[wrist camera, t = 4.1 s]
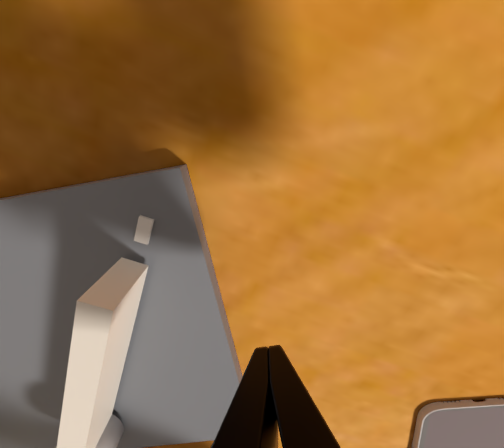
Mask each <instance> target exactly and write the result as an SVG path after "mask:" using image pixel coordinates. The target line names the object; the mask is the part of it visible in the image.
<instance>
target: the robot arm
mask: <svg viewBox="0 0 504 448" xmlns="http://www.w3.org/2000/svg"><path fill="white" fill-rule="evenodd" d="M278 427H279V432H280V437H281V442H282V447H283V448H340V446H339V444H338V442H337V441H336V439H335V437H334V435H333V434H332V432H331V430H330V429H329V427H328V425H327V424H326V422H325V420H324V418H323V417H322V415H321V413H320V412H319V410H318V408H317V406H316V405H315V403H314V401H313V400H312V398H311V396H310V395H309V393H308V391H307V389H306V388H305V386H304V384H303V383H302V381H301V379H300V377H299V376H298V374H297V372H296V371H295V369H294V367H293V366H292V364H291V362H290V360H289V359H288V357H287V355H286V354H285V352H284V350H283V348H282V347H281V346H280V345H274V346H269V348H268V347H259V348H256V349H255V350H254V352H253V355H252V357H251V359H250V361H249V364H248V366H247V368H246V370H245V373H244V375H243V377H242V379H241V381H240V384H239V386H238V388H237V390H236V393H235V395H234V397H233V399H232V402H231V404H230V406H229V408H228V411H227V413H226V415H225V417H224V420H223V422H222V424H221V426H220V428H219V431H218V433H217V435H216V437H215V440H214V442H213V444H212V446H211V448H278Z"/></svg>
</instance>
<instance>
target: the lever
mask: <svg viewBox="0 0 504 448" xmlns="http://www.w3.org/2000/svg"><path fill="white" fill-rule="evenodd" d="M148 266H149V265H145V264H142V263H139V262H136V261H132V260H129V259H126V258H123V257H122V258H121V259H119V260H118V261H117V262H116V263H115V264H114V265H113V266H112V267H111V268H110V269H109V270H108V271H107V272H106V273H105V274H104V275H103V276H102V277H101V278H100V279H99V280H98V281H97V282H96V283H95V284H94V285H93V286H91V287H90V288H89V289H88V290H87V291H86V292H85V293H84V294H83V295H82V296H81V297H80V298H79V299H78V300H77V303H76V310H75V317H74V325H73V332H72V339H71V347H70V354H69V361H68V368H67V376H66V383H65V390H64V398H63V405H62V412H61V419H60V427H59V434H58V441H57V446H56V447H55V448H116V447H117V445H118V443H119V441H120V438H121V436H122V434H123V431H124V427H123V424H122V422H121V421H120V419H119V418H117V417H116V416H115V415H113V414H112V412H113V408H114V404H115V400H116V396H117V392H118V388H119V384H120V380H121V376H122V372H123V368H124V363H125V359H126V355H127V351H128V347H129V343H130V339H131V335H132V331H133V327H134V323H135V319H136V315H137V311H138V306H139V302H140V298H141V294H142V290H143V286H144V282H145V278H146V274H147V270H148Z"/></svg>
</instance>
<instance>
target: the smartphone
mask: <svg viewBox="0 0 504 448" xmlns="http://www.w3.org/2000/svg"><path fill="white" fill-rule="evenodd" d="M412 448H504V398H500V399H498V398H488V399H484V401H483V402H474V401H473V400H459V401H458V400H457V401H455V402H454V401H451V402H450V401H447V402H446V401H443V403H442V402H434V403H430V404H428V405H426V406H424V407H423V408H421V410H420V411H419V413H418V416H417V421H416V426H415V432H414V437H413V442H412Z"/></svg>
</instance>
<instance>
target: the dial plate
mask: <svg viewBox="0 0 504 448" xmlns="http://www.w3.org/2000/svg"><path fill="white" fill-rule="evenodd" d="M122 257H123V258H126V259H129V260H132V261H136V262H139V263H142V264H145V265H149V266H148V270H147V274H146V278H145V282H144V286H143V290H142V294H141V298H140V302H139V306H138V311H137V315H136V319H135V323H134V327H133V331H132V335H131V339H130V343H129V347H128V351H127V355H126V359H125V363H124V368H123V372H122V376H121V380H120V384H119V388H118V392H117V396H116V400H115V404H114V408H113V412H112V414H113V415H115V416H116V417H117V418H119V419H120V421H121V422H122V424H123V427H124V431H123V434H122V436H121V438H120V441H119V443H118V445H117V447H116V448H143V447H153V446H162V445H172V444H182V443H191V442H201V441H211V440H215V437H216V435H217V433H218V431H219V428H220V426H221V424H222V422H223V420H224V417H225V415H226V413H227V411H228V408H229V406H230V404H231V402H232V399H233V397H234V395H235V393H236V390H237V388H238V386H239V384H240V381H241V379H242V373H241V369H240V365H239V361H238V358H237V354H236V350H235V346H234V343H233V339H232V335H231V331H230V327H229V324H228V320H227V316H226V312H225V309H224V305H223V301H222V297H221V293H220V290H219V286H218V282H217V278H216V275H215V271H214V267H213V263H212V260H211V256H210V252H209V248H208V244H207V241H206V237H205V233H204V229H203V226H202V222H201V218H200V214H199V210H198V207H197V203H196V199H195V195H194V192H193V188H192V184H191V180H190V176H189V173H188V169H187V165H186V164H185V165H179V166H174V167H169V168H163V169H158V170H152V171H147V172H141V173H136V174H130V175H125V176H120V177H114V178H109V179H103V180H98V181H92V182H87V183H81V184H76V185H71V186H65V187H60V188H54V189H49V190H43V191H38V192H33V193H27V194H22V195H16V196H11V197H5V198H0V448H55V447H56V446H57V441H58V434H59V427H60V419H61V412H62V405H63V398H64V390H65V383H66V376H67V368H68V361H69V354H70V347H71V339H72V332H73V325H74V317H75V310H76V303H77V300H78V299H79V298H80V297H81V296H82V295H83V294H84V293H85V292H86V291H87V290H88V289H89V288H90V287H91V286H93V285H94V284H95V283H96V282H97V281H98V280H99V279H100V278H101V277H102V276H103V275H104V274H105V273H106V272H107V271H108V270H109V269H110V268H111V267H112V266H113V265H114V264H115V263H116V262H117V261H118V260H119V259H121V258H122Z"/></svg>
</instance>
